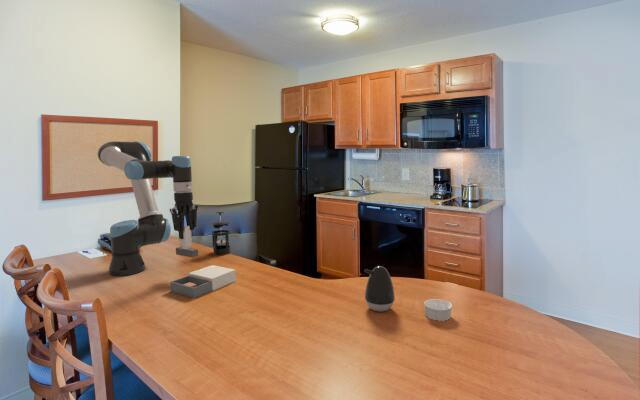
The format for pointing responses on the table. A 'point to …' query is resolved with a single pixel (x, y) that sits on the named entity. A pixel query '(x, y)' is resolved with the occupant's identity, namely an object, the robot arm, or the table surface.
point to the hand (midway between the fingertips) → (186, 245)
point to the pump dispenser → (379, 289)
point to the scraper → (187, 246)
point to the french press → (221, 248)
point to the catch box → (192, 292)
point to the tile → (190, 284)
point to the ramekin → (438, 309)
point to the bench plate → (216, 275)
